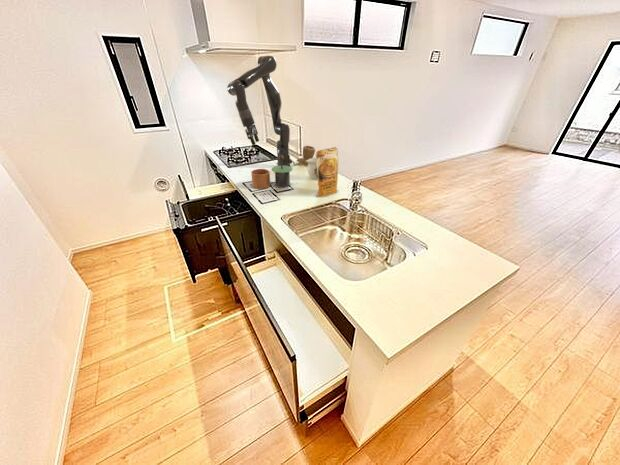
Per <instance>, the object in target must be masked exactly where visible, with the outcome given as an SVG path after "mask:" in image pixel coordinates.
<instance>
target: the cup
mask: <svg viewBox="0 0 620 465" xmlns="http://www.w3.org/2000/svg"><path fill="white" fill-rule="evenodd" d="M290 172H291V171H290ZM290 172H287V173H276V172H274V181H275V182H274V183H275V186H276V187H277V188H288V187H289V186H290V185H291V174H290Z"/></svg>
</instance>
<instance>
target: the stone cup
mask: <svg viewBox="0 0 620 465" xmlns="http://www.w3.org/2000/svg"><path fill="white" fill-rule="evenodd" d="M315 154H316V148H315V147H314V146H311V145H304V146H303V148H302V157H299V158H296V162H298V164H299V163H300V164H299V165H302V166H304V167H308V162H306V160H308V159H311V158H314V156H315Z"/></svg>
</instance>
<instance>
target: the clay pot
mask: <svg viewBox="0 0 620 465" xmlns="http://www.w3.org/2000/svg"><path fill="white" fill-rule="evenodd" d="M270 173H271V172H270V170H269V169H266V168H257V169H253V170H251V172H250V174H251V183H252V187H253V188H255V189H260V190H262V189H268V188H269V187H271V174H270Z"/></svg>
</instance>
